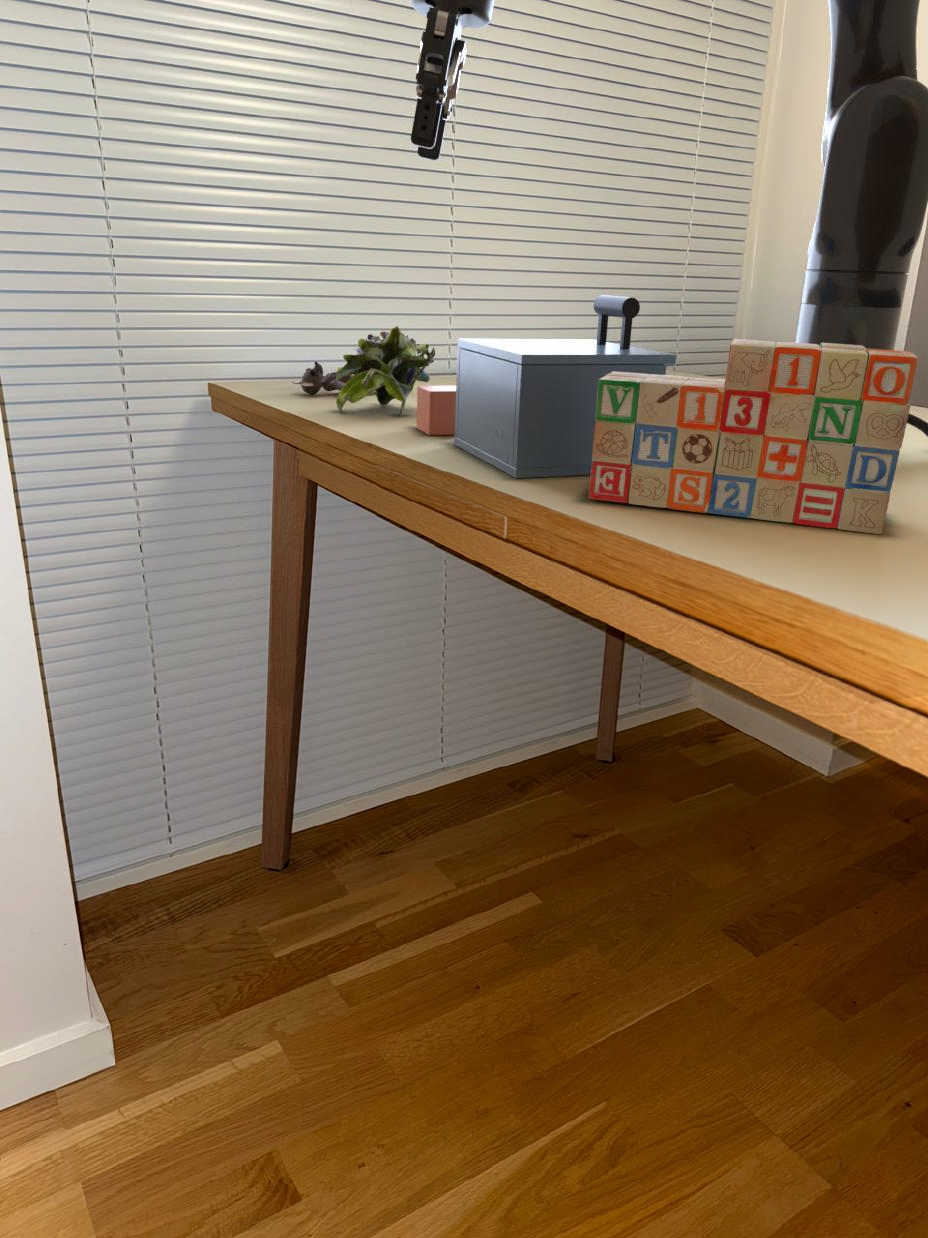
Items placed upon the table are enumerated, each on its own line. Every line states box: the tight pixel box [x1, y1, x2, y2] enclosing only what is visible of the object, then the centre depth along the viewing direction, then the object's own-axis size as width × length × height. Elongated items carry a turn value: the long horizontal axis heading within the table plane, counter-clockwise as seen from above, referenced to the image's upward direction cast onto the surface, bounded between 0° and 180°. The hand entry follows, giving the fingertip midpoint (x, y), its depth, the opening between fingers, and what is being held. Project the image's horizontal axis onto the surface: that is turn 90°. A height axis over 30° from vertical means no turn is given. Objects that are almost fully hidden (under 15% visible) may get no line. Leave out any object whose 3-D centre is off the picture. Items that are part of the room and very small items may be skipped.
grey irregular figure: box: [291, 361, 354, 396], centre depth 125 cm, size 18×4×14 cm
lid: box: [457, 294, 677, 365], centre depth 84 cm, size 14×16×5 cm
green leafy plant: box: [335, 325, 436, 417], centre depth 110 cm, size 11×11×12 cm
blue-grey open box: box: [454, 347, 667, 479], centre depth 86 cm, size 14×16×9 cm
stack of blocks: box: [588, 338, 919, 535], centre depth 69 cm, size 21×6×12 cm, turn 71°
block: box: [416, 385, 456, 436], centre depth 99 cm, size 4×4×4 cm
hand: (425, 152), depth 89 cm, fingers open, 8 cm apart
